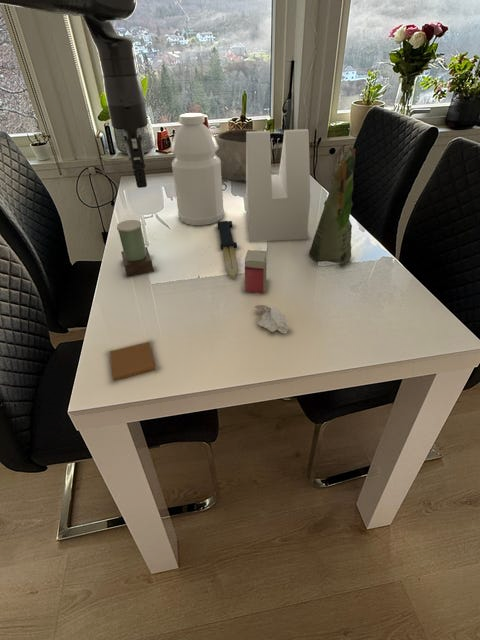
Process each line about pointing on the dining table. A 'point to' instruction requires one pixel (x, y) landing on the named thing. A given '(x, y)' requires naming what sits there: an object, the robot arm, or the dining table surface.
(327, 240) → the pouch
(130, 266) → the walnut wood block
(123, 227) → the tumbler
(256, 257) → the small box
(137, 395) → the dining table surface
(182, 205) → the bottle
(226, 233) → the knife
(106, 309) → the dining table surface
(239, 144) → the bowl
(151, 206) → the dining table surface
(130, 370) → the coaster
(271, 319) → the tissue
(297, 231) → the white slotted block
